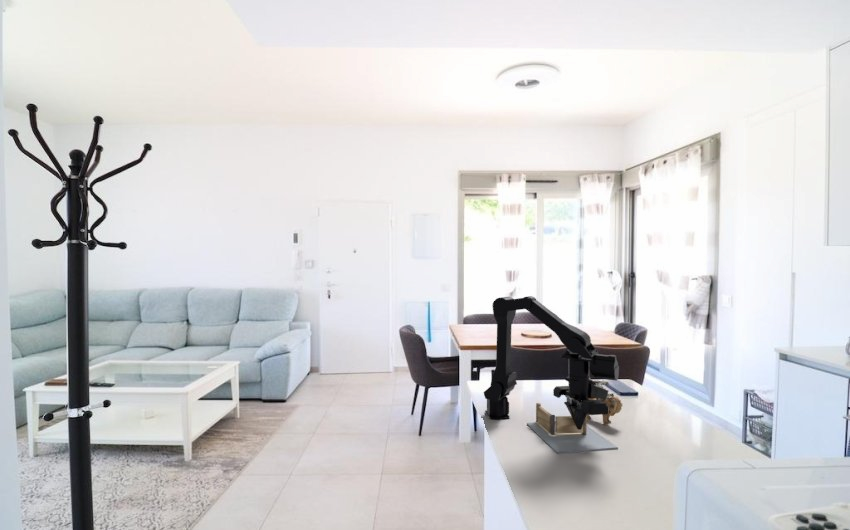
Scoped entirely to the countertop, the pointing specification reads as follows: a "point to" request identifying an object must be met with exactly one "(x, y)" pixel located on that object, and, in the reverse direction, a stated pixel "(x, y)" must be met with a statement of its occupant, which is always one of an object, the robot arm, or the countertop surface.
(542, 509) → the countertop surface
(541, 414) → the fixed plank
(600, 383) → the figurine
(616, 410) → the lion figurine
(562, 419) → the hinged plank
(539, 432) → the card
